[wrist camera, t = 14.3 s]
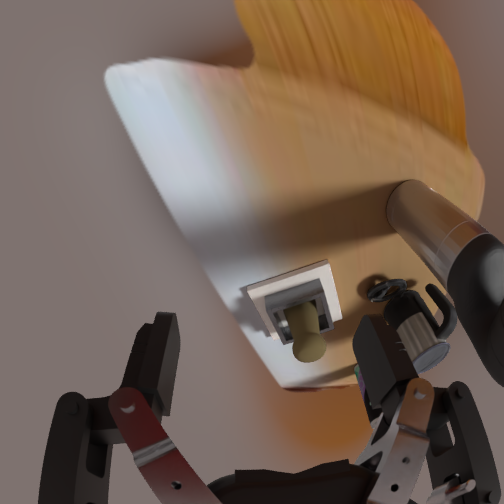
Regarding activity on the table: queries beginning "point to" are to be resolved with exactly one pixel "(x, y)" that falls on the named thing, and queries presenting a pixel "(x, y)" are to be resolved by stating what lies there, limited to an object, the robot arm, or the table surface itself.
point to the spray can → (367, 399)
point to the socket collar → (296, 297)
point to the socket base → (292, 280)
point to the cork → (305, 331)
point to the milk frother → (417, 321)
